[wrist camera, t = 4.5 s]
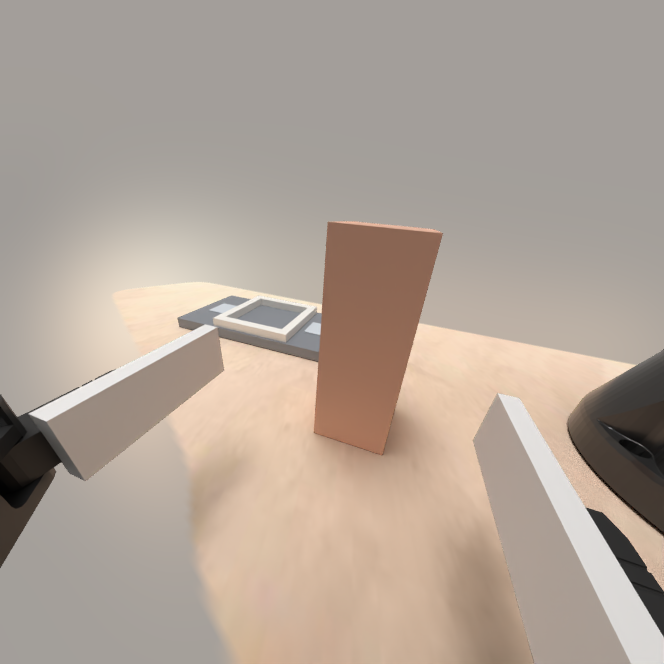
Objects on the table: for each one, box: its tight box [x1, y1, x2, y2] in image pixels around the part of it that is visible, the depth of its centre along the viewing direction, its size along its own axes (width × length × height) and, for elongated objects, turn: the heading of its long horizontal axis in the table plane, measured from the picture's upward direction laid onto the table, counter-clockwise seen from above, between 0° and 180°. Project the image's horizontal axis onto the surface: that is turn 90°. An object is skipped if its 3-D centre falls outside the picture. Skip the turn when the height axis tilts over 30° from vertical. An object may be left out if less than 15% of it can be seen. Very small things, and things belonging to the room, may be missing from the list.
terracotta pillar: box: [314, 221, 443, 455], centre depth 16 cm, size 5×5×14 cm
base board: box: [178, 296, 322, 362], centre depth 31 cm, size 20×10×2 cm, turn 72°
